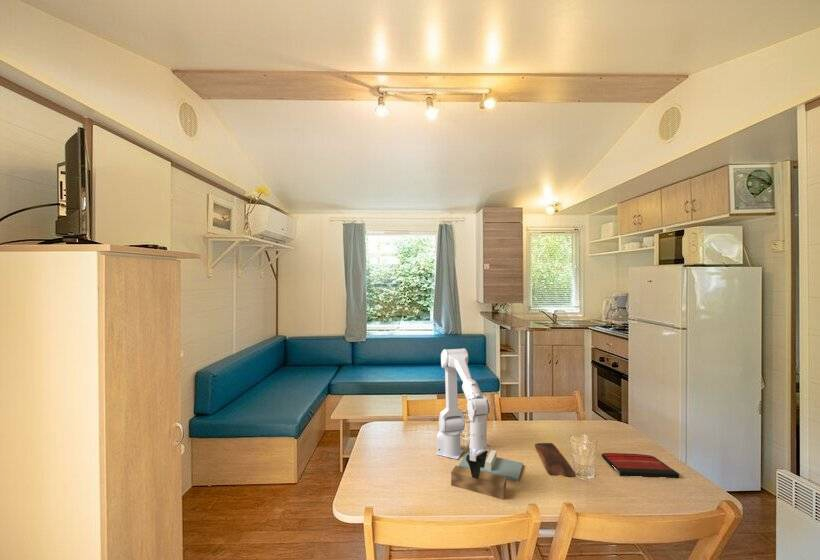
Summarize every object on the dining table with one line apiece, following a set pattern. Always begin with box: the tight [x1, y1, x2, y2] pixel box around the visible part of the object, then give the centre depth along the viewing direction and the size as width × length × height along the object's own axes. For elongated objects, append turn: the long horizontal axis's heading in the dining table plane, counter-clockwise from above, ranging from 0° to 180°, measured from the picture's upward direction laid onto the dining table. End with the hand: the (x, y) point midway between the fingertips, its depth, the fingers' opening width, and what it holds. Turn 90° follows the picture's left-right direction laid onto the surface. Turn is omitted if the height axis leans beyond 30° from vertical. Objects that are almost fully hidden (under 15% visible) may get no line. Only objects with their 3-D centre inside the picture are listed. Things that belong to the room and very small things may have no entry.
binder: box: [601, 452, 680, 479], centre depth 137 cm, size 16×2×21 cm
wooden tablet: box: [534, 442, 576, 478], centre depth 143 cm, size 26×2×10 cm
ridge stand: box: [458, 449, 524, 482], centre depth 137 cm, size 22×12×4 cm, turn 65°
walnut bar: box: [450, 465, 507, 500], centre depth 123 cm, size 18×5×5 cm, turn 64°
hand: (478, 472), depth 122 cm, fingers open, 7 cm apart
